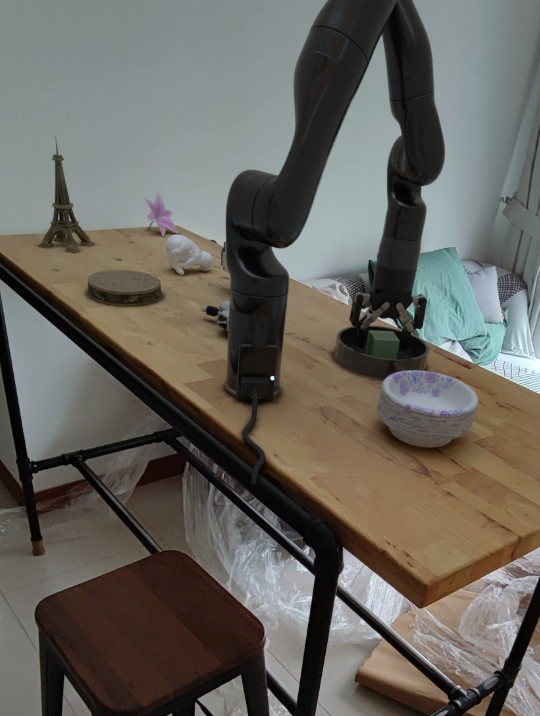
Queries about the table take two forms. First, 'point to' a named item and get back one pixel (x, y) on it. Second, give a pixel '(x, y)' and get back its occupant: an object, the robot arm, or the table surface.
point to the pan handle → (396, 367)
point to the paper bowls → (426, 407)
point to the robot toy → (219, 313)
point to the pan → (375, 366)
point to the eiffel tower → (63, 214)
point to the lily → (160, 215)
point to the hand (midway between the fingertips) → (381, 347)
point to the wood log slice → (124, 287)
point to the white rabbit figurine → (186, 254)
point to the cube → (382, 344)
